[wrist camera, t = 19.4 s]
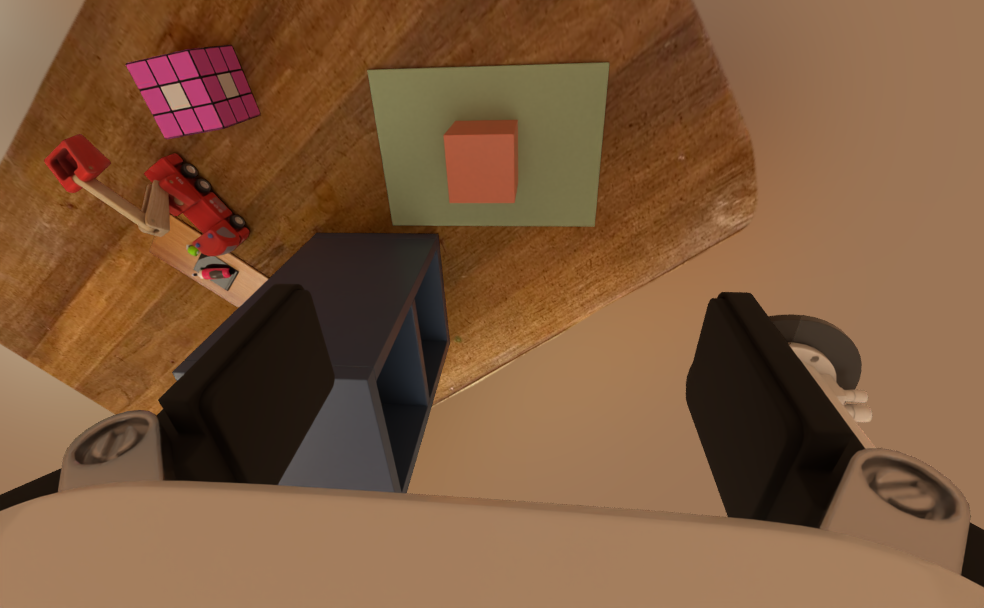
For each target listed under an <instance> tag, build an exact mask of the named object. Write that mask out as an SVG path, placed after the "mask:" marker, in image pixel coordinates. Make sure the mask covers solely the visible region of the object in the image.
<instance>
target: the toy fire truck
mask: <svg viewBox="0 0 984 608" xmlns="http://www.w3.org/2000/svg"><path fill="white" fill-rule="evenodd" d="M44 162H45V163H46V165H47V166H48V167H49V169H50V170H51V171H52V173H53V174H54V175H55V177H56V178H57V179H58V181H59V182H60V183H61V185H62V186H63V187H64V188H65V190H66V191H68V192H70V193H75V192H77V191H79V190H80V189H82V188H85V189H86V190H87V191H89V192H90V193H92V194H93V195H95V196H96V197H98V198H99V199H101V200H102V201H104V202H105V203H107V204H108V205H109V206H111V207H112V208H114V209H115V210H117V211H118V212H120V213H121V214H123V215H124V216H126V217H127V218H128V219H130V220H131V221H133V222H134V223H136V224H138V226H139V229H140V230H141V231H142V232H145V233H149V234H152V235H155V236H159V237H162V236H164V235H165V234H166V233H168V232H169V231H170V216H169V213H171V214H172V215H174V216H178V215H180V214H182V213H183V214H184V215H185V216H186V217H187V218H188V219H189V220H190V221H191V222H192V223H193V224H194V225H195V226H196V227H197V228H198V229H199V230H200V231H201V232H202V233H203V235H201V236H200V237H199V238H197V239H196V240H195V241H193V242H192V244H193V245H194V246H195V247H196V248H197V249H198V250H199V251H200V252H201V253H203V254H204V255H207V256H220V255H224V254H227V253H229V252H231V251H233V250H235V249H236V248H237V247H238V245H240V244H241V243H242V242H244V241H245V240H246V239H247V237H248V236H249V233H250V232H249V230H248V229H247V228H245V227H243V226H244V224H245V222H244V220H243V218H242V217H240V216H239V215H233V214H232V212H231V211H230V210H229V209H228V208H227V207H226V205H225V204H224V203H223V202H221V200H220V199H219V198H218V197H217V196H216V195H215V194H214V193H213V192H210V190H211V186H210V184H209V182H208V181H206V180H204V179H197V180H195V178H194V177H196V176H197V174H198V172H197V169H196V168H195V167H194V166H193V165H191V164H188V163H186V164H183V165H182V164H181V163H182V162H183V160H182V159H181V157H180V156H179V155H178V154H175V153H174V154H171V155H168V156H166V157H162V158H161V159H160V160H158V161H157V162H156V163H155V164H154V165H153V166H152V167H150V168H149V169H148V170H147V171H146V172H145V173H144V175H145V176H146V177H147V178H148V179H149V180H150V181H151V182H152V183H153V185H150V184H149V185H147V189H146V193H145V197H144V202H143V206H142V210H140V209H138V208H137V207H135V206H134V205H132V204H131V203H130V202H128V201H127V200H125V199H124V198H122V197H121V196H120V195H118V194H117V193H115V192H114V191H112V190H111V189H110V188H108V187H107V186H105V185H104V184H102V183H101V182H99V181H98V180H97V179H95V178H96V177H97V176H98V175H100V173H102V172H103V171H104V170H105V169H106V168H107V167H108V166H109V165H110V164H111V162H110V161H109V159H107V158H106V157H105V156H104V155H103V154H102V153H101V152H100V151H99V150H98V149H97V148H95V147H94V146H93V145H92V144H91V143H90V142H89V141H88V140H87V139H86V138H85V137H84V136H83V135H81V134H78V135H76V136H73V137H70V138H68V139H65V140H63V141H62V142H61V143H60V144H59V145H58V146H57V147H56V149H55V150H53V152H52V153H51V154H50V155H49V156H48V157H47V158H46V159H45V160H44Z"/></svg>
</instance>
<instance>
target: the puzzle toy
mask: <svg viewBox="0 0 984 608" xmlns="http://www.w3.org/2000/svg"><path fill="white" fill-rule="evenodd" d="M126 66H127V68H128V70H129V72H130V74H131V76H132V77H133V79H134V81H135V83H136V85H137V87H138V89H139V90H140V92H141V94H142V96H143V98H144V100H145V102H146V104H147V105H148V107H149V109H150V111H151V113H152V115H153V117H154V119H155V120H156V122H157V124H158V126H159V128H160V130H161V132H162V133H163V135H164V137H165V139H171V138H176V137H181V136H186V135H192V134H197V133H203V132H208V131H213V130H219V129H224V128H227V127H230V126H232V125H235V124H238V123H241V122H243V121H246V120H248V119H252V118H254V117H257V116H260V112H259V109H258V107H257V105H256V102H255V100H254V97H253V95H252V93H251V90H250V88H249V86H248V83H247V81H246V78H245V76H244V74H243V71H242V70H241V66H240V64H239V62H238V59H237V57H236V54H235V52H234V50H233V47H232V45H224V46H214V47H204V48H195V49H187V50H182V51H178V52H173V53H169V54H165V55H160V56H156V57H151V58H147V59H143V60H138V61H134V62H130V63H126Z"/></svg>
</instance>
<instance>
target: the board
mask: <svg viewBox="0 0 984 608" xmlns="http://www.w3.org/2000/svg"><path fill="white" fill-rule="evenodd" d="M169 216H170V231H169V232H168V233H166V234H165V235H164V236H162V237H159V236H155V238H154V241H153V243H152V246H151V248H150V250H149V252H150V253H152V254H153V255H155V256H157V257H158V258H160V259H161V260H163V261H165V262H166V263H168V264H169V265H171V266H173V267H174V268H176V269H177V270H179V271H181V272H182V273H184V274H185V275H187V276H189V277H190V278H192V279H193V280H195V281H197V282H198V283H200V284H201V285H203V286H205V287H206V288H208V289H209V290H211V291H213V292H214V293H216V294H217V295H219V296H221V297H222V298H224V299H225V300H227V301H229V302H230V303H232V304H234V305H235V306H237V307H238V308H239V307H240V306H241V305H242V304H243V303H244V302H245V301H246V300H247V299H248V298H249V297H250V296H252V295H253V294H254V293H255V292H256V291H257V290H258V289H259V288H260V287H261V286H262V285H263V284H264V283H265V282H266V281H267V280H268V279H269V278H268V277H267V276H265V275H263V274H262V273H260V272H259V271H257V270H256V269H254V268H253V267H251V266H250V265H248V264H247V263H245V262H244V261H242V260H241V259H239V258H238V257H236V256H235V255H233V254H232V253H230V252H229V253H227V254H224V255H220V256H207V255H204V254H203V253H201V252H200V251H199V250H198V249H197V248H196V247H195V246H194V245H193V244H192V242H193V241H195V240H196V239H197V238H199V237H200V236H201V235H203V234H201V233H200V232H198V231H197V230H195V229H193V228H192V227H190V226H189V225H187V224H186V223H184V222H183V221H181V220H180V219H178V218H177V217H175V216H174V215H172V214H171V213H169Z"/></svg>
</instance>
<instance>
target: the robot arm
mask: <svg viewBox="0 0 984 608" xmlns="http://www.w3.org/2000/svg"><path fill="white" fill-rule="evenodd" d="M334 381H335V375H334V371H333V367H332V364H331V360H330V357H329V354H328V350H327V347H326V343H325V340H324V337H323V333H322V330H321V326H320V323H319V319H318V316H317V313H316V309H315V306H314V302H313V299H312V296H311V293H310V292H309V291H308V290H304V288H303V287H302V285H300V284H274V285H273V286H271V287H270V288H269V289H268V290H267V291H266V292H265V293H264V294H263V295H262V296H261V297H260V298H259V299H258V300H257V301H256V302H255V303H254V304H253V305H252V306H251V307H250V308H249V309H248V310H247V311H246V312H245V313H244V314H243V315H242V316H241V317H240V318H239V319H238V320H237V321H236V322H235V323H234V324H233V325H232V326H231V327H230V328H229V329H228V330H227V331H226V332H225V333H224V334H223V335H222V336H221V337H220V339H219V340H218V341H217V342H216V343H215V344H214V345H213V346H212V347H211V348H210V349H209V350H208V351H207V352H206V353H205V354H204V355H203V356H202V357H201V358H200V359H199V360H198V361H197V362H196V363H195V364H194V365H193V366H192V367H191V368H190V369H189V370H188V371H187V372H186V373H185V374H184V375H183V376H182V377H181V378H180V379H179V380H178V381H177V382H176V383H175V384H174V385H173V386H172V387H171V388H170V389H169V390H168V391H167V392H166V393H165V394H164V395H163V396H162V397H161V398H160V399H159V400H158V401H159V402H160V404H161V406H162V407H163V410H162V411H161V412H160V413H159V414H158V415H157V416H156V415H155V414H153V413H152V412H150V411H144V410H135V411H127V412H124V413H120V414H117V415H113V416H111V417H109V418H107V419H104V420H102V421H100V422H98V423H96V424H95V425H93V426H92V427H90V428H88V429H87V430H85V431H84V432H83V433H82V434H80V435H79V436H78V437H77V438H76V439H75V440H74V441H73V442H72V443H71V444H70V446H69V447H68V448H67V450H66V452H65V455H64V458H63V462H62V468H61V469H59V470H56V471H54V472H52V473H50V474H47V475H45V476H43V477H40V478H38V479H36V480H34V481H31V482H29V483H26V484H24V485H22V486H20V487H18V488H15V489H13V490H11V491H8V492H6V493H4V494H1V495H0V608H984V530H983V529H981V528H979V527H977V526H976V525H974V524H972V523H970V518H971V515H970V507H969V504H968V502H967V500H966V499H965V497H964V495H963V494H962V492H961V491H960V490H959V489H958V488H957V487H956V486H955V485H954V484H953V483H952V482H951V480H950V479H948V478H947V477H946V476H944V475H943V474H941V473H940V472H939V471H938V470H936V469H935V468H933V467H932V466H930V465H928V464H926V463H924V462H922V461H921V460H919V459H917V458H915V457H912V456H909V455H906V454H904V453H901V452H898V451H893V450H889V449H883V448H875V446H874V445H873V444H872V442H871V441H870V440H869V439H868V437H867V436H866V435H865V433H864V432H863V431H862V429H861V428H860V427H859V425H858V424H857V423H856V422H869V421H870V420H871V419H872V411H871V409H870V407H869V406H867V405H861V404H846V405H844V403H845V401H850V402H863V403H865V402H866V401H867V399H868V395H867V393H866V391H864V390H843V388H841V387H839V385H838V384H837V383H836V372H835V369H834V367H833V365H832V364H831V362H830V361H829V360H828V359H827V357H826V356H825V355H824V354H823V353H821V352H820V351H818V350H817V349H815V348H813V347H810V346H808V345H805V344H799V343H793V342H786V340H785V339H784V337H783V336H782V335H781V333H780V332H779V331H778V329H777V328H776V327H775V325H774V324H773V322H772V321H771V320H770V318H769V317H768V316H767V314H766V313H765V311H764V310H763V309H762V307H761V306H760V305H759V303H758V302H757V301H756V299H755V298H754V297H753V295H752V294H751V293H741V292H739V293H738V292H722V293H720V294H719V296H718V297H717V298H715V299H714V298H712V299H711V300H710V302H709V304H708V307H707V311H706V314H705V318H704V322H703V326H702V330H701V334H700V338H699V341H698V345H697V349H696V353H695V357H694V361H693V364H692V368H691V372H690V376H689V380H688V384H687V388H686V401H687V405H688V407H689V410H690V413H691V415H692V419H693V421H694V424H695V427H696V429H697V432H698V435H699V438H700V441H701V444H702V446H703V449H704V452H705V454H706V457H707V460H708V463H709V465H710V468H711V471H712V474H713V476H714V479H715V482H716V485H717V488H718V491H719V493H720V496H721V499H722V502H723V504H724V507H725V510H726V512H727V515H728V517H720V516H707V515H696V514H685V513H674V512H663V511H650V510H635V509H622V508H609V507H594V506H581V505H567V504H554V503H538V502H525V501H511V500H497V499H482V498H467V497H453V496H437V495H423V494H408V493H393V492H378V491H362V490H346V489H330V488H313V487H297V486H281V485H278V484H279V482H280V480H281V478H282V477H283V475H284V473H285V471H286V470H287V468H288V466H289V464H290V463H291V461H292V459H293V457H294V455H295V454H296V452H297V450H298V448H299V447H300V445H301V443H302V441H303V440H304V438H305V436H306V434H307V433H308V431H309V429H310V427H311V425H312V424H313V422H314V420H315V418H316V417H317V415H318V413H319V411H320V410H321V408H322V406H323V404H324V403H325V401H326V399H327V397H328V395H329V394H330V392H331V390H332V388H333V386H334Z"/></svg>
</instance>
